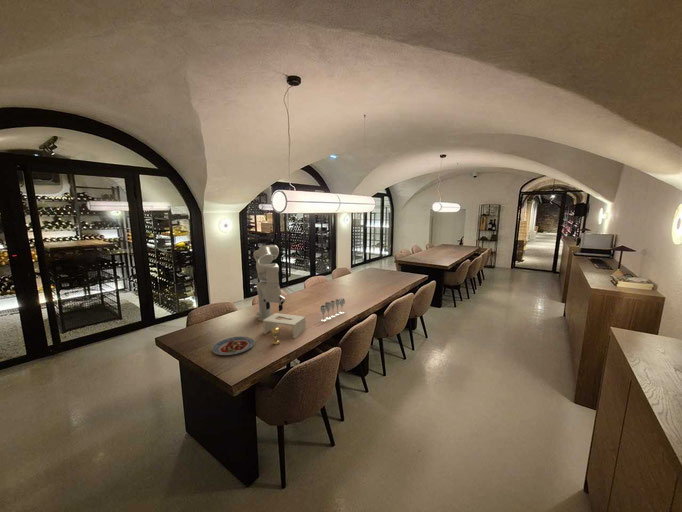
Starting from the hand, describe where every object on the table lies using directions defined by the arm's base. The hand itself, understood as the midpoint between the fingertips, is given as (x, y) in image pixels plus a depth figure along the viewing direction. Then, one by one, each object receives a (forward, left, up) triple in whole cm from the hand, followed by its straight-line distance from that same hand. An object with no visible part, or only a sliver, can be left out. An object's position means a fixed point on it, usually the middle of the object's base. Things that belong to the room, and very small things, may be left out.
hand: (274, 309), depth 187 cm
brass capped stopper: (0, 0, -24) cm, 24 cm away
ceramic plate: (-23, -14, -24) cm, 36 cm away
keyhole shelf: (-5, +19, -24) cm, 31 cm away
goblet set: (+17, +59, -24) cm, 66 cm away
